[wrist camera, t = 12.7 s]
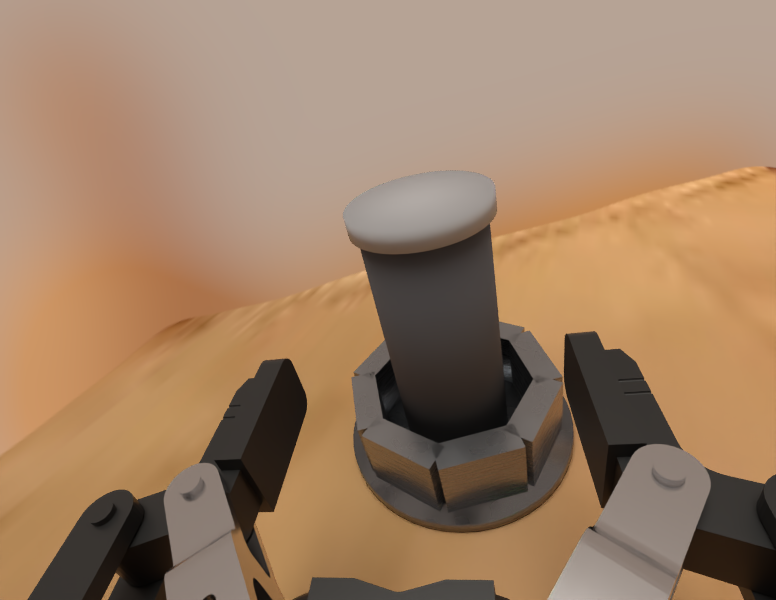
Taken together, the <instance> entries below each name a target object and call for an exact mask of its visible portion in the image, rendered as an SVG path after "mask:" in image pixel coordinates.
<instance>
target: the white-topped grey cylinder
mask: <svg viewBox="0 0 776 600" xmlns="http://www.w3.org/2000/svg"><path fill="white" fill-rule="evenodd" d="M496 212H497V203H496V190H495V184H494V182H493V181H492V180H491V179H490V178H488V177H487V176H484V175H482V174H479V173H475V172H469V171H435V172H427V173H421V174H416V175H411V176H407V177H402V178H399V179H395V180H392V181H390V182H386V183H383V184H381V185H378V186H376V187H374V188H372V189H370V190H368V191H366V192H364V193H362V194H360V195H359V196H358V197H356V198H355V199H353V200H352V201H351V202H350V203H349V204H348V205H347V207H346V208H345V210H344V212H343V218H344V222H345V225H346V229H347V232H348V236H349V239H350V241H351V242H352V243H353V244H354V245H355V246H357V247H358V248H360V249H361V253H362V257H363V260H364V264H365V268H366V272H367V275H368V279H369V283H370V286H371V290H372V294H373V297H374V301H375V305H376V308H377V312H378V316H379V319H380V323H381V327H382V330H383V334H384V338H385V341H386V345H387V349H388V353H389V356H390V360H391V364H392V367H393V371H394V375H395V378H396V382H397V386H398V389H399V393H400V397H401V400H402V404H403V408H404V411H405V415H406V419H407V422H408V426H409V430H410V431H412V432H414V433H416V434H418V435H421V436H423V437H425V438H427V439H429V440H432V441H434V442H436V443H442V442H446V441H449V440H453V439H457V438H461V437H464V436H468V435H472V434H476V433H480V432H483V431H487V430H491V429H495V428H498V427H502V426H506V425H507V424H508V416H507V405H506V394H505V383H504V372H503V361H502V350H501V339H500V329H499V318H498V307H497V296H496V285H495V274H494V263H493V252H492V242H491V231H490V222H491V221H492V220H493V219H494V217H495V215H496Z"/></svg>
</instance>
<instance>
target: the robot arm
mask: <svg viewBox="0 0 776 600" xmlns="http://www.w3.org/2000/svg"><path fill="white" fill-rule="evenodd" d="M564 382H565V389H566V394H567V398H568V401H569V404H570V407H571V411H572V414H573V417H574V420H575V424H576V427H577V430H578V433H579V437H580V440H581V443H582V446H583V450H584V453H585V456H586V459H587V463H588V466H589V469H590V472H591V476H592V479H593V482H594V485H595V489H596V492H597V495H598V498H599V502H600V505H601V508H604V510H603V512H602V513H601V515H600V517H599V519H598V521H597V523H596V524H595V525H594V526H593V527H591V526H590V527H588V528H587V530H586V531H585V532H584V534H583V535H582V537H581V539H580V540H579V542H578V544H577V546H576V548H575V550H574V551H573V553H572V555H571V557H570V559H569V561H568V562H567V564H566V566H565V568H564V570H563V572H562V574H561V575H560V577H559V579H558V581H557V583H556V585H555V586H554V588H553V590H552V592H551V594H550V596H549V597H548V599H547V600H672V598H673V595H674V592H675V590H676V587H677V584H678V582H679V579H680V576H681V574H682V571H683V569H686V570H689V571H692V572H695V573H698V574H702V575H705V576H708V577H711V578H714V579H717V580H721V581H724V582H727V583H730V584H733V585H736V586H738V587H739V589H740V591H741V594H742V596H743V598H744V600H776V475H774V476H772V477H771V478H769V479H768V480H767V482H766V483H765V484H762V483H757V482H753V481H748V480H744V479H739V478H735V477H730V476H726V475H723V474H719V473H717V472H714V471H711V470H709V469H707V468H705V467H704V466H703V465H702V464H701V463H700V462H699V461H698V460H697V459H696V458H695V457H693V456H692V455H690V454H689V453H687V452H686V451H683V449H682V448H681V447H680V445H679V444H678V442H677V440H676V438H675V436H674V434H673V432H672V430H671V428H670V427H669V425H668V423H667V421H666V419H665V417H664V415H663V413H662V411H661V409H660V407H659V405H658V404H657V402H656V400H655V398H654V396H653V394H651V390H650V388H649V386H648V384H647V383H646V381H644V377H643V375H642V373H641V371H640V369H639V367H638V365H637V363H636V362H635V361H634V360H633V359H632V358H630V357H629V356H628V355H627V354H626V353H624V352H623V351H622V350H621V349H611V350H604V348H603V345H602V343H601V341H600V339H599V336H598V334H597V333H596V332H595V331H593V332H582V333H571V334H566V335H565V349H564ZM306 410H307V398H306V394H305V391H304V389H303V386H302V384H301V382H300V380H299V377H298V375H297V373H296V371H295V368H294V366H293V364H292V362H291V360H290V359H276V360H265V361H263V362H262V363H261V365H260V367H259V369H258V371H257V373H256V375H255V377H254V378H250V379H248V380H247V381H246V382H245V383H244V384H243V385H242V386H241V387H240V388H239V389H238V390H237V391H236V393H235V395H234V397H233V399H232V401H231V403H230V405H229V408H228V409H227V411H226V412H225V414H224V416H223V420H221V422H220V424H219V426H218V428H217V430H216V432H215V434H214V436H213V438H212V440H211V441H210V443H209V445H208V447H207V449H206V451H205V453H204V455H203V457H202V459H201V461H200V462H199V464H195V465H193V466H191V467H189V468H187V469H185V470H184V471H182V472H181V473H180V474H178V475H177V476H176V477H175V478H174V479H173V481H172V482H171V483H170V485H169V486H168V488H167V490H165V491H162V492H159V493H156V494H153V495H150V496H147V497H144V498H141V499H138V500H137V499H136V498H135V497H134V496H133V495H132V494H131V493H130V492H129V491H127V490H115V491H112V492H110V493H107V494H105V495H104V496H102V497H100V498H99V499H97V500H96V501H95V502H94V503H92V504H91V505H90V506H89V507H88V508H87V509H86V510H85V512H84V513H83V514H82V515H81V517H80V518H79V520H78V521H77V523H76V525H75V526H74V528H73V529H72V531H71V532H70V534H69V536H68V537H67V539H66V540H65V542H64V543H63V545H62V546H61V548H60V550H59V551H58V553H57V554H56V556H55V557H54V559H53V561H52V562H51V564H50V565H49V567H48V568H47V570H46V571H45V573H44V575H43V576H42V578H41V579H40V581H39V582H38V584H37V586H36V587H35V589H34V590H33V592H32V593H31V595H30V596H29V598H28V600H101V599H102V598H103V596H104V594H105V592H106V590H107V588H108V586H109V584H110V582H111V580H112V578H113V576H114V574H115V572H116V573H117V574H118V575H119V576H120V577H119V579H118V581H117V583H116V585H115V587H114V589H113V591H112V593H111V595H110V597H109V599H108V600H285V598H284V597H283V595H282V593H281V591H280V589H279V586H278V584H277V582H276V579H275V576H274V573H273V570H272V568H271V565H270V562H269V559H268V556H267V553H266V551H265V548H264V545H263V542H262V539H261V537H260V534H259V531H258V528H257V526H256V524H255V520H256V518H257V515H258V512H274V509H275V506H276V503H277V500H278V497H279V494H280V491H281V488H282V485H283V482H284V479H285V476H286V473H287V469H288V466H289V463H290V460H291V457H292V454H293V451H294V448H295V445H296V442H297V439H298V436H299V433H300V430H301V427H302V424H303V420H304V417H305V414H306ZM293 600H509V599H507V598H504V597H502V596H499V595H496V593H495V587H494V581H493V580H443V581H439V582H436V583H432V584H429V585H425V586H421V587H418V588H414V589H410V590H407V591H403V592H394V591H391V590H388V589H385V588H382V587H379V586H376V585H373V584H370V583H367V582H364V581H361V580H358V579H355V578H312V581H311V586H310V590H309V593H305V594H303V595H301V596H299V597H296V598H294V599H293Z"/></svg>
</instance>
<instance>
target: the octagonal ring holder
mask: <svg viewBox="0 0 776 600" xmlns="http://www.w3.org/2000/svg"><path fill="white" fill-rule="evenodd" d="M499 329H500V339H501V350H502V361H503V372H504V383H505V394H506V405H507V416H508V424H507V425H506V426H502V427H498V428H495V429H491V430H487V431H483V432H480V433H476V434H472V435H468V436H464V437H461V438H457V439H453V440H449V441H446V442H442V443H436V442H434V441H432V440H429V439H427V438H425V437H423V436H421V435H418V434H416V433H414V432H412V431H410V430H409V426H408V422H407V419H406V415H405V411H404V408H403V404H402V400H401V397H400V393H399V389H398V386H397V382H396V378H395V375H394V371H393V367H392V364H391V360H390V356H389V353H388V349H387V345H386V341H385V340H384V341H383V343H382V344H381V345H380V346H379V347H378V348H377V349H376V350H375V351H374V352H373V353H372V354H371V355H370V356H369V357H368V358H367V359H366V360H365V361H364V362H363V363H362V364H361V365H360V366H359V367H358V368H357V369H356V370H355V371H354V375H355V377H352V386H353V395H354V403H355V412H356V422H355V427H354V435H353V437H354V451H355V456H356V460H357V462H358V465H359V468H360V471H361V473H362V476H363V478H364V479H365V481H366V483H367V485H368V487H369V488H370V489H371V491H372V492H373V493H374V495H375V496H376V497H377V498H378V499H379V500H380V501H381V502H382V503H383V504H384V505H385V506H386V507H387V508H389V509H390V510H392V511H393V512H395V513H396V514H397V515H399V516H401V517H403V518H405V519H407V520H409V521H411V522H413V523H415V524H418V525H421V526H424V527H427V528H431V529H436V530H441V531H450V532H474V531H482V530H487V529H493V528H497V527H500V526H503V525H506V524H509V523H512V522H514V521H516V520H518V519H520V518H522V517H524V516H526V515H527V514H529V513H530V512H532V511H533V510H535V509H536V508H538V507H539V506H540V505H541V504H542V503H544V502H545V501H546V500H547V499H548V498H549V497H550V496H551V495H552V494H553V492H554V491H555V490H556V488H557V487H558V486H559V484H560V483H561V481H562V479H563V477H564V476H565V474H566V472H567V469H568V466H569V463H570V460H571V456H572V449H573V422H572V418H571V413H570V410H569V408H568V405H567V402H566V401H565V399H564V397H563V382H562V375H561V374H560V373H559V371H558V370H557V368H556V367H555V366H554V364H553V363H552V361H551V360H550V359H549V357H548V356H547V354H546V353H545V352H544V350H543V349H542V347H541V346H540V345H539V343H538V342H537V340H536V339H535V338H534V336H533V335H532V333H531V332H530V331H526V332H524V327H520V326H515V325H511V324H507V323H503V322H499Z"/></svg>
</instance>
